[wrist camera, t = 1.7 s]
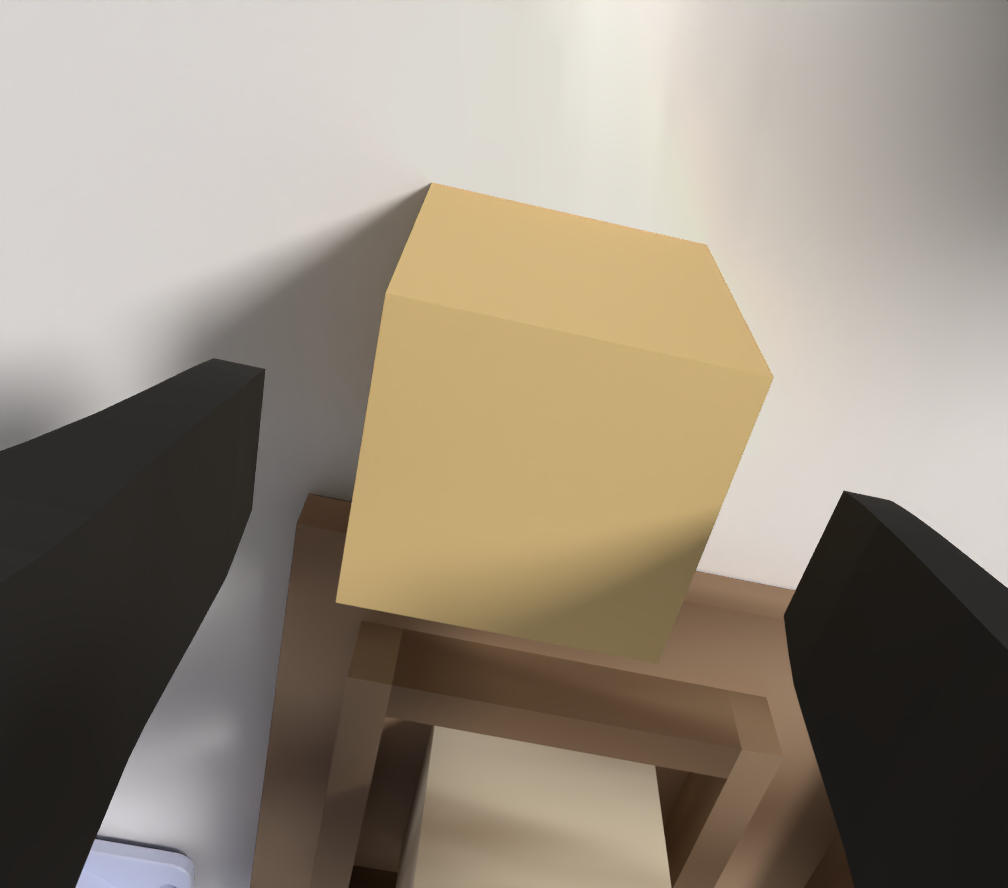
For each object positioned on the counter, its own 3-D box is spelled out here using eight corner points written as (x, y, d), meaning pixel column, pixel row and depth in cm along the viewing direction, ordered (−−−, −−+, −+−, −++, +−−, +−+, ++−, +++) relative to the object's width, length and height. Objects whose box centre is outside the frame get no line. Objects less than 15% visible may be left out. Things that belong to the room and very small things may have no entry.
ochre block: (628, 474, 17) (658, 664, 13) (389, 425, 17) (335, 603, 12) (705, 243, 15) (773, 376, 11) (432, 181, 15) (385, 293, 10)
